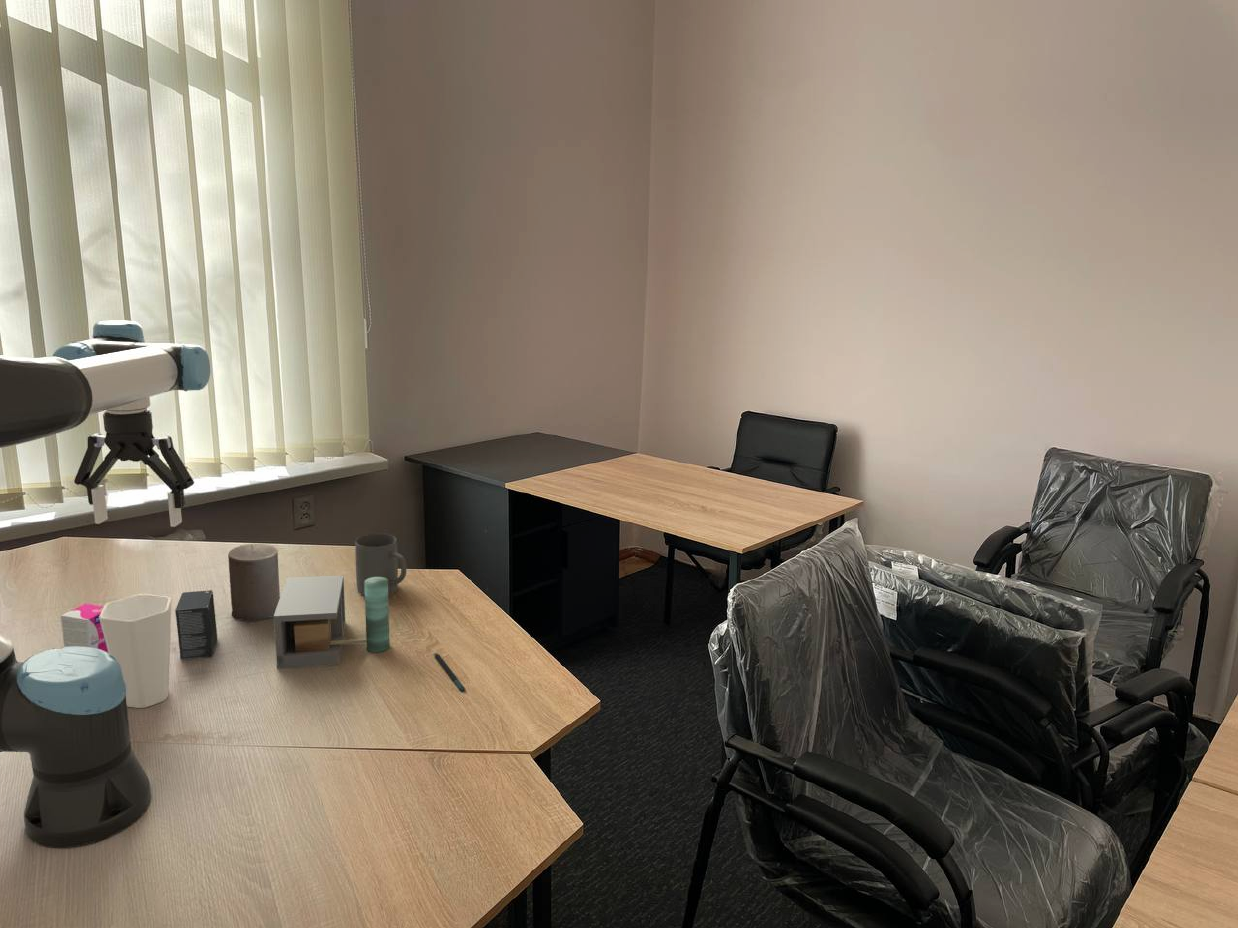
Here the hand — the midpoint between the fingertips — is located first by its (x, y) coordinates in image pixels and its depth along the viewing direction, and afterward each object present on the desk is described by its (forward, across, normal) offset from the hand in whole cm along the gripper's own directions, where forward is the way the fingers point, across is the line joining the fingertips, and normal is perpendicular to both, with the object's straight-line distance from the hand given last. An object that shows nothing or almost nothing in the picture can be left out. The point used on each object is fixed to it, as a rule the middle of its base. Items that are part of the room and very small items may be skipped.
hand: (139, 523), depth 159 cm
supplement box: (+26, +7, +7) cm, 28 cm away
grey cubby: (+26, -29, -5) cm, 39 cm away
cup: (+26, -7, +16) cm, 32 cm away
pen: (+27, -57, +4) cm, 63 cm away
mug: (+26, -36, -32) cm, 55 cm away
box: (+26, -8, -2) cm, 28 cm away
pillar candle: (+26, -12, -19) cm, 35 cm away
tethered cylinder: (+26, -35, -4) cm, 44 cm away
